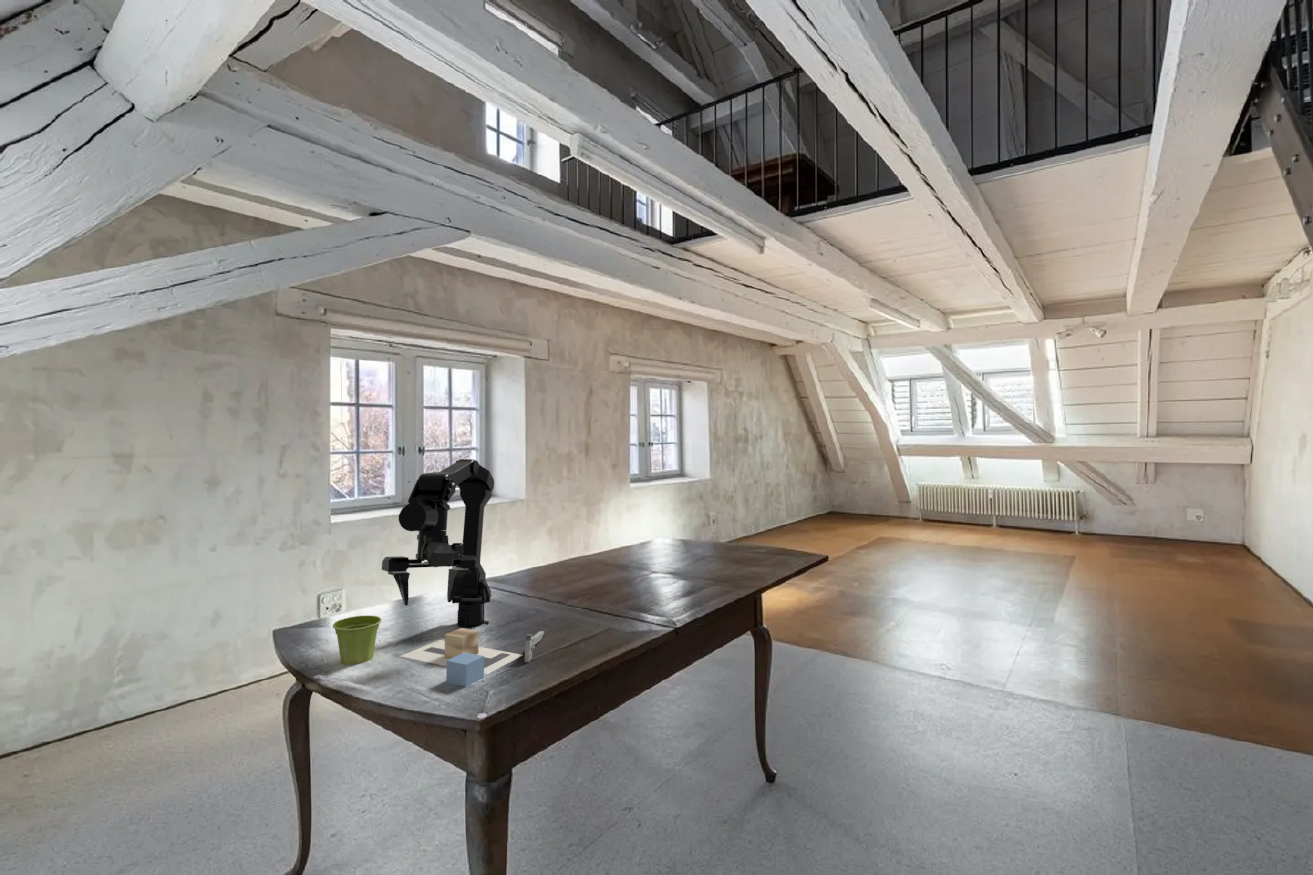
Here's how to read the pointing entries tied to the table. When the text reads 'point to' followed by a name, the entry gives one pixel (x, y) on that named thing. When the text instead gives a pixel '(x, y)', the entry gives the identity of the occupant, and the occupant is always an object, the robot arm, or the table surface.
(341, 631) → the plant pot
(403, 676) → the table surface
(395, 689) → the table surface
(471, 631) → the wood block
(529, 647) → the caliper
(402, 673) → the table surface
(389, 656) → the table surface
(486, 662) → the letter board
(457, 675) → the blue cube
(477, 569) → the robot arm
